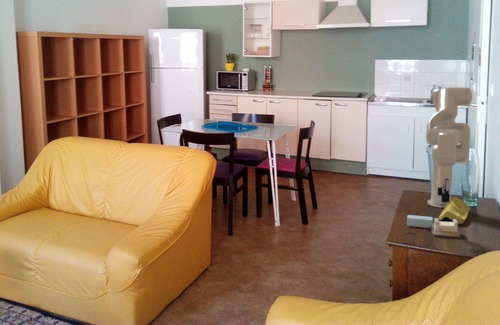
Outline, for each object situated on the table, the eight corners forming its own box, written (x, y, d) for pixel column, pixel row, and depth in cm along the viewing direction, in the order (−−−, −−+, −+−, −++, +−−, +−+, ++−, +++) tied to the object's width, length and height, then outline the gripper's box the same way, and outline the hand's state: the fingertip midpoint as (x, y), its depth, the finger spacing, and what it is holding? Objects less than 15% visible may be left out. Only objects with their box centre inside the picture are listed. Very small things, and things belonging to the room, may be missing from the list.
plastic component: (465, 220, 234) (444, 209, 237) (456, 233, 238) (436, 221, 241) (470, 205, 250) (451, 195, 254) (462, 217, 254) (444, 206, 257)
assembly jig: (430, 227, 232) (430, 222, 232) (456, 229, 230) (456, 223, 229) (433, 235, 223) (433, 230, 222) (460, 237, 220) (460, 231, 220)
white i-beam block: (433, 228, 230) (434, 217, 228) (455, 229, 227) (456, 219, 226) (435, 232, 225) (435, 221, 224) (457, 233, 223) (457, 222, 222)
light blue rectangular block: (407, 223, 240) (407, 214, 239) (432, 225, 236) (432, 217, 235) (406, 226, 236) (407, 217, 235) (432, 228, 232) (432, 220, 231)
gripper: (433, 156, 229) (431, 192, 233) (439, 165, 213) (437, 204, 217) (451, 156, 228) (448, 193, 232) (459, 165, 212) (456, 205, 215)
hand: (443, 198), depth 224 cm, fingers open, 9 cm apart
